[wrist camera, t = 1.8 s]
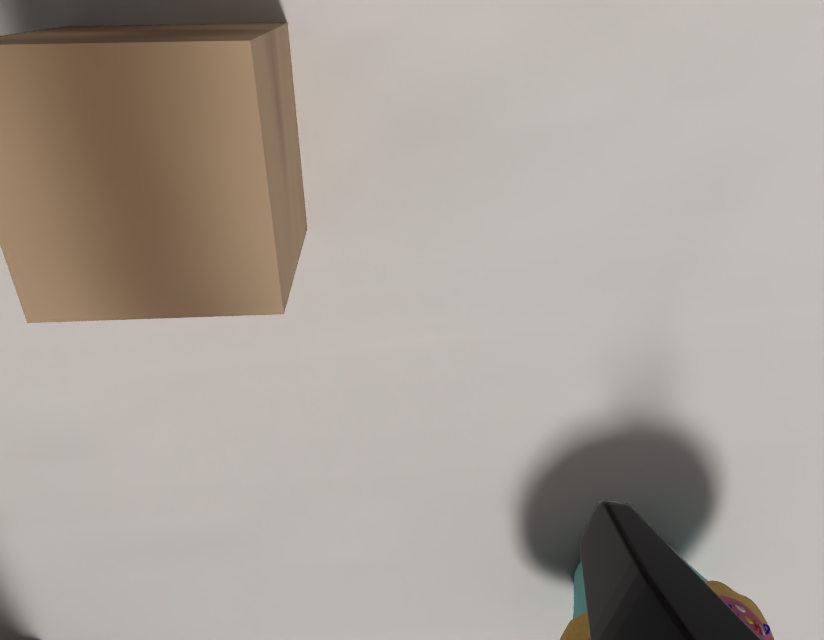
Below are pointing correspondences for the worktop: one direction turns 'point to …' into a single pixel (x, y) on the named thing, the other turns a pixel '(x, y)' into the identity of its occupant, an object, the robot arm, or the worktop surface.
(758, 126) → the worktop surface
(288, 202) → the cube
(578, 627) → the cupcake
